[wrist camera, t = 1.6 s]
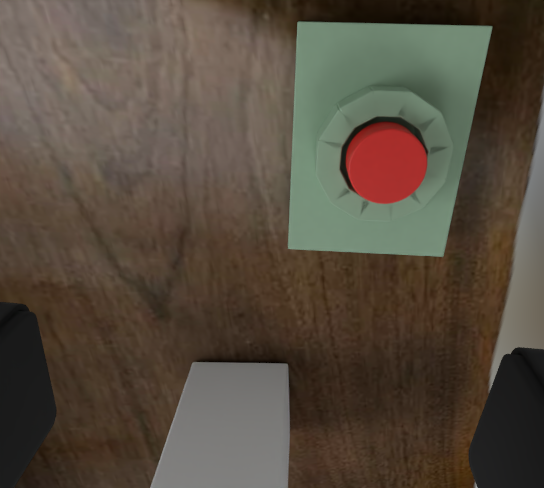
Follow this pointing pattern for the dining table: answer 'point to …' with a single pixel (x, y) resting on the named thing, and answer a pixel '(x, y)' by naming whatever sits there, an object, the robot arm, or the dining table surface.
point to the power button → (385, 162)
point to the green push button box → (380, 108)
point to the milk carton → (229, 429)
